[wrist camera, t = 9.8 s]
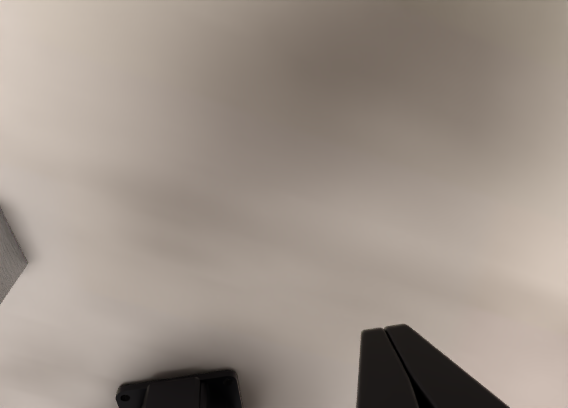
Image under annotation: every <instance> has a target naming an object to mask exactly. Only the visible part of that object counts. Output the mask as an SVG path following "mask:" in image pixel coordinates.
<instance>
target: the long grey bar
mask: <svg viewBox="0 0 568 408" xmlns="http://www.w3.org/2000/svg"><path fill="white" fill-rule="evenodd" d="M27 264H28V262H27V260H26V258H25V256H24V254H23V252H22V250H21V248H20V246H19V244H18V242H17V240H16V238H15V236H14V234H13V232H12V230H11V228H10V226H9V224H8V222H7V220H6V218H5V216H4V214H3V212H2V209H1V207H0V304H1V302H2V301H3V300H4V298H5V297H6V295H7V294H8V292H9V291H10V289H11V288H12V286H13V285H14V283H15V282H16V280H17V279H18V277H19V276H20V275H21V273H22V272H23V270H24V269H25V267H26V266H27Z"/></svg>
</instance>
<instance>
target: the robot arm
mask: <svg viewBox="0 0 568 408" xmlns="http://www.w3.org/2000/svg"><path fill="white" fill-rule="evenodd" d="M226 379H230V380H226ZM116 401H117V404H118V406H119V408H243V405H242V399H241V394H240V389H239V384H238V379H237V375H236V373H235V372H234V371H231V370H225V371H218V372H211V373H205V374H198V375H191V376H185V377H178V378H171V379H165V380H158V381H151V382H145V383H138V384H131V385H125V386H121V387H120V388H118V390H117V394H116ZM356 408H510V407H509V406H507V405H506V404H505V403H504V402H502V401H501V400H500V399H499V398H497V397H496V396H495V395H494V394H493V393H491V392H490V391H489V390H488V389H486V388H485V387H484V386H483V385H481V384H480V383H479V382H478V381H476V380H475V379H474V378H473V377H471V376H470V375H469V374H468V373H466V372H465V371H464V370H463V369H461V368H460V367H459V366H458V365H457V364H455V363H454V362H453V361H452V360H450V359H449V358H448V357H447V356H445V355H444V354H443V353H442V352H440V351H439V350H438V349H437V348H435V347H434V346H433V345H432V344H430V343H429V342H428V341H427V340H426V339H424V338H423V337H422V336H421V335H419V334H418V333H417V332H416V331H414V330H413V329H412V328H411V327H409V326H408V325H406V324H399V325H392V326H387V327H385V328H384V329H383V328H373V329H367V330H363V331H362V332H361V343H360V359H359V374H358V390H357V405H356Z"/></svg>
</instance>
